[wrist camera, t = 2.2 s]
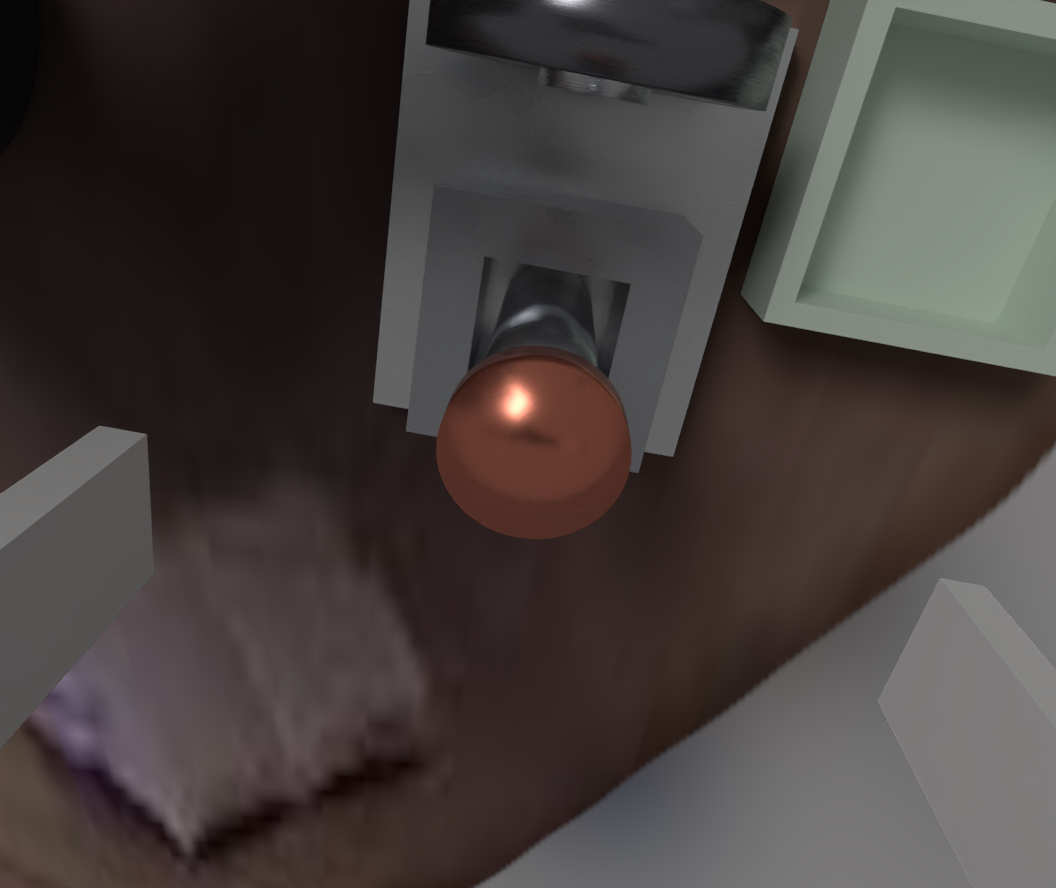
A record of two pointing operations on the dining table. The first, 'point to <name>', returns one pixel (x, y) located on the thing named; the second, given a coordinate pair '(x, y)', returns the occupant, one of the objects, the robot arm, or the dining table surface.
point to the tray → (921, 183)
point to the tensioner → (574, 184)
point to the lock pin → (537, 417)
